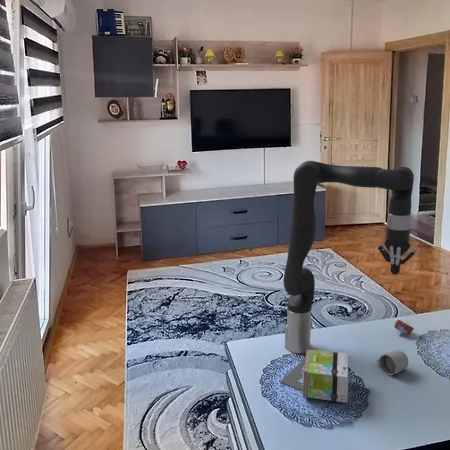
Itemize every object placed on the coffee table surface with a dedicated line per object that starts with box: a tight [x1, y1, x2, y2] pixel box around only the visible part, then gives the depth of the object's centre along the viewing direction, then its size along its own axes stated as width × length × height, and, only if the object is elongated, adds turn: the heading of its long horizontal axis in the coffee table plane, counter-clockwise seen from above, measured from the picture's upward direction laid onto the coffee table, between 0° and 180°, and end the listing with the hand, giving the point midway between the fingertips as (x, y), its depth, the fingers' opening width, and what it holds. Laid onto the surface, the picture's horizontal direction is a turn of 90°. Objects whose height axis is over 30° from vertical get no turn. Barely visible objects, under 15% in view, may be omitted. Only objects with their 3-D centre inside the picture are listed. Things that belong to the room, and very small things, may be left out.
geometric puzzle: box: [393, 319, 415, 337], centre depth 204 cm, size 7×7×8 cm
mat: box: [279, 358, 305, 392], centre depth 178 cm, size 14×20×1 cm
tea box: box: [302, 349, 349, 403], centre depth 168 cm, size 15×10×15 cm
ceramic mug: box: [376, 349, 409, 376], centre depth 180 cm, size 11×8×8 cm
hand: (395, 273), depth 172 cm, fingers closed
